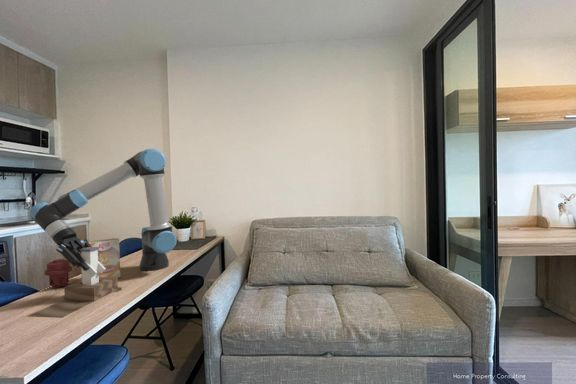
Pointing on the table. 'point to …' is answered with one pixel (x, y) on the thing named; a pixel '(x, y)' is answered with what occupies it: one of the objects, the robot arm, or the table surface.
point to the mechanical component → (58, 272)
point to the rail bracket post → (92, 258)
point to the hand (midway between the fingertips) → (98, 273)
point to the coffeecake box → (108, 256)
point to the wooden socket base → (79, 297)
